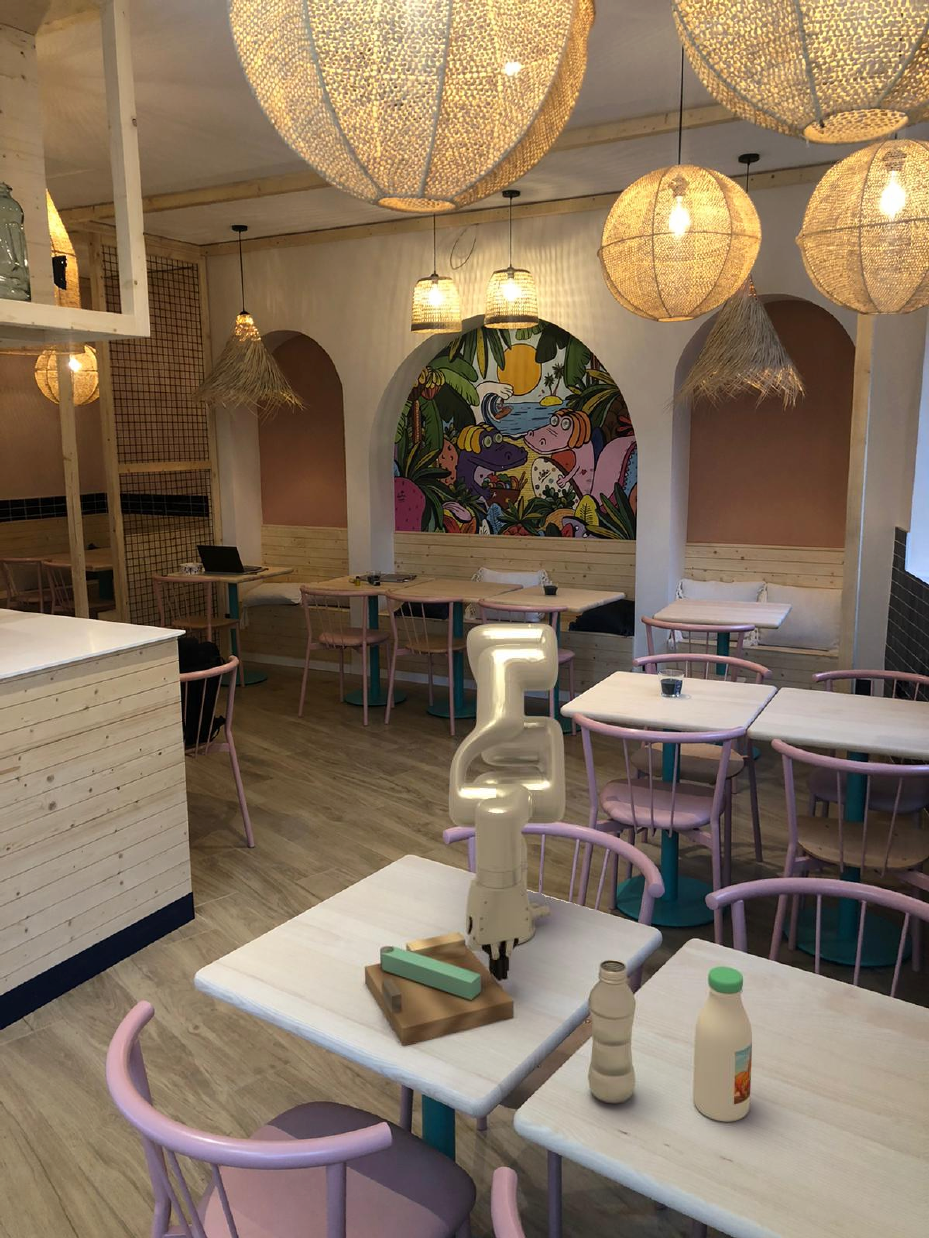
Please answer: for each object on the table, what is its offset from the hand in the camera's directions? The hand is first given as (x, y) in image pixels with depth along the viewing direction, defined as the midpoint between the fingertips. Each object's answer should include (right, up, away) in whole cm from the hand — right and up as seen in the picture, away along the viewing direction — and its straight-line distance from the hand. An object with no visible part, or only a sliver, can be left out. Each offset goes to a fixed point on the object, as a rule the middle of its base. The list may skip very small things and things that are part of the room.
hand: (499, 976), depth 164 cm
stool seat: (-10, -4, +1) cm, 11 cm away
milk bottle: (+30, -9, -26) cm, 41 cm away
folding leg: (-12, -1, +1) cm, 12 cm away
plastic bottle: (+15, -8, -24) cm, 30 cm away
